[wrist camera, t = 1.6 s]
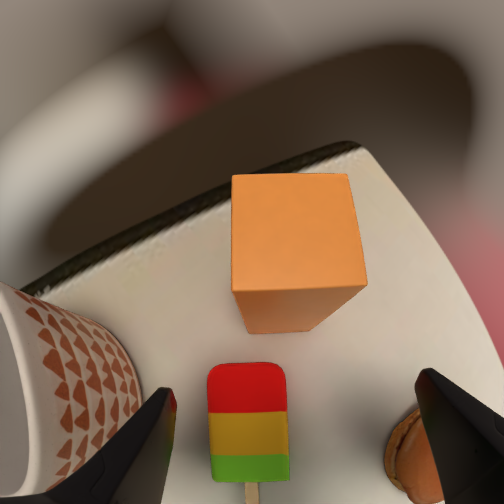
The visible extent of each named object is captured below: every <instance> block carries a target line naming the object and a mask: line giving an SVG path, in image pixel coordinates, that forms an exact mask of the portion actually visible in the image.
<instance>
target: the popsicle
mask: <svg viewBox="0 0 504 504" xmlns="http://www.w3.org/2000/svg"><path fill="white" fill-rule="evenodd" d="M207 401H208V422H209V439H210V455H211V468H212V478H213V480H214V481H216V482H245V499H246V504H259V491H258V482H271V481H286V480H289V443H288V415H287V392H286V379H285V374H284V372H283V370H282V368H280V367H279V366H278V365H276V364H274V363H269V362H256V363H227V364H220V365H218V366H215V367H214V368H213V369H212V370H211V371H210V372H209V375H208V377H207Z"/></svg>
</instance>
